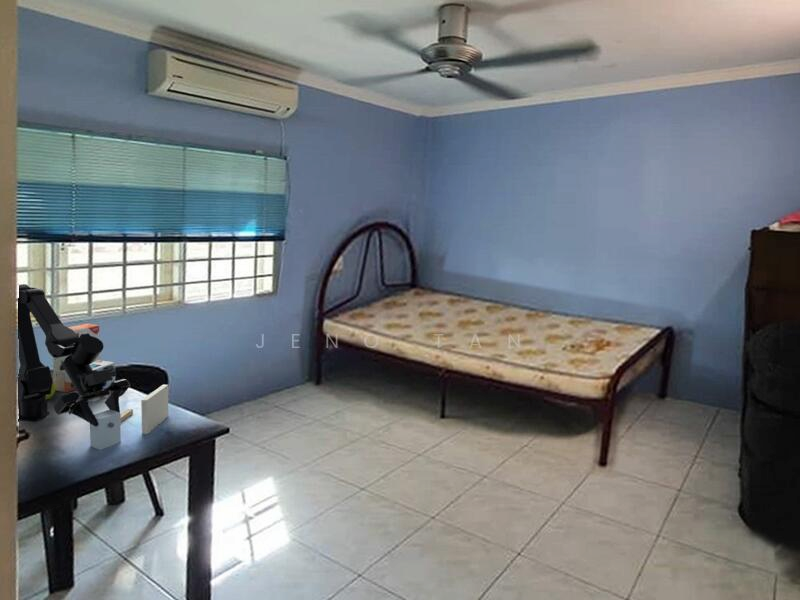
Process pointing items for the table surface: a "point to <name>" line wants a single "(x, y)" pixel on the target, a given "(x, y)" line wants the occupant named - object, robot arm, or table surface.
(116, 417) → the pale grey square box
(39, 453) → the table surface
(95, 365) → the light bulb box
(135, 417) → the table surface
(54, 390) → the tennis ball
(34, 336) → the robot arm
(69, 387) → the cracker box
